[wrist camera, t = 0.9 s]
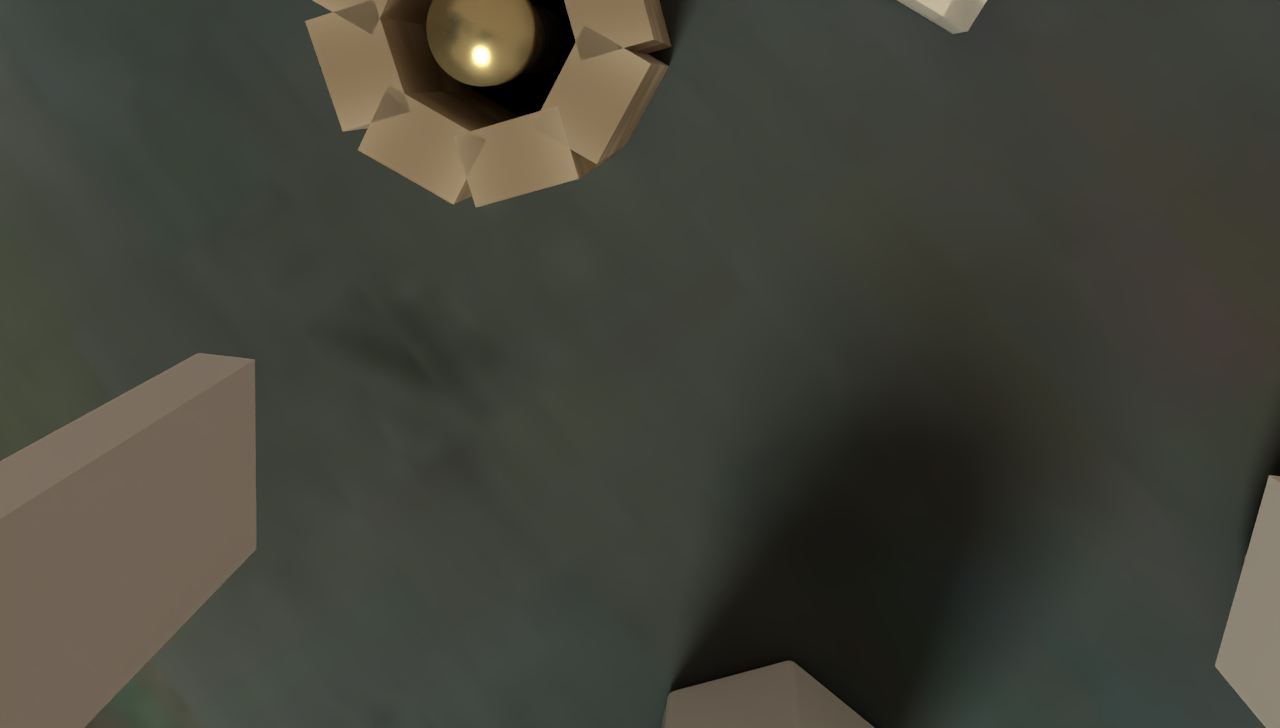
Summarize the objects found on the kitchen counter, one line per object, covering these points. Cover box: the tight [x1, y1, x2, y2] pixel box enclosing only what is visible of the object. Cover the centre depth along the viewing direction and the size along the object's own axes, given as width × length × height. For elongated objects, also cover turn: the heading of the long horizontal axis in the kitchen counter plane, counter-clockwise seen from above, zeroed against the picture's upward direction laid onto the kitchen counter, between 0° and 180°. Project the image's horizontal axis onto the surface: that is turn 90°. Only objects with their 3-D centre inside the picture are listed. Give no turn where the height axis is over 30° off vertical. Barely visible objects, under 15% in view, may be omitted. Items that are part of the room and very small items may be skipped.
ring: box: [305, 0, 671, 207], centre depth 28 cm, size 8×9×7 cm
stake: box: [426, 0, 565, 86], centre depth 28 cm, size 3×3×7 cm
